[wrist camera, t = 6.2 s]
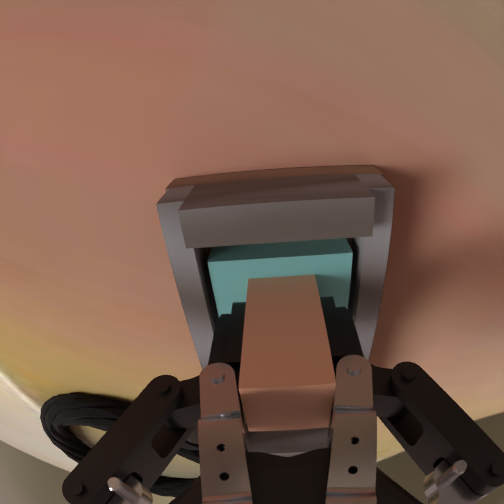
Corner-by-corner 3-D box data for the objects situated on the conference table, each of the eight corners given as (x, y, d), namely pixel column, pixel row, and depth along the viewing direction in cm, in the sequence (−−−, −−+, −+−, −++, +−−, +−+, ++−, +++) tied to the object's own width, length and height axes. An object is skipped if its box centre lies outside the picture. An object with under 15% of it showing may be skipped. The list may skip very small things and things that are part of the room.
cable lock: (32, 443, 32) (43, 365, 19) (41, 425, 35) (63, 333, 23) (185, 508, 39) (310, 474, 27) (188, 490, 43) (308, 445, 30)
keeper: (212, 244, 15) (177, 368, 9) (344, 235, 15) (394, 355, 8) (227, 321, 18) (210, 440, 11) (339, 314, 17) (366, 432, 11)
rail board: (174, 179, 15) (143, 214, 11) (373, 165, 14) (408, 196, 11) (232, 418, 26) (229, 459, 22) (341, 412, 25) (347, 453, 21)
